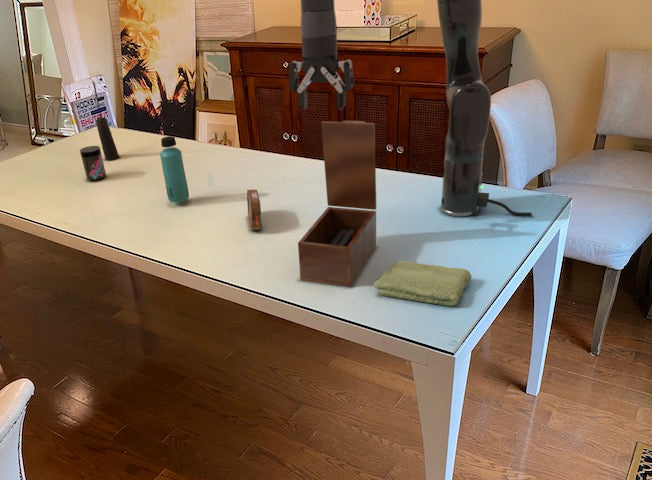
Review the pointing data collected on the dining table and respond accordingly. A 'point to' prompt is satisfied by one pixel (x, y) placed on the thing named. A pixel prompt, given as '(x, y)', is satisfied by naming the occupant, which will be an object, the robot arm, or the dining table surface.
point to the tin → (254, 209)
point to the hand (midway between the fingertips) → (322, 109)
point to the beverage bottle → (173, 171)
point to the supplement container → (93, 163)
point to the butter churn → (105, 136)
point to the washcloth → (424, 283)
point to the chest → (335, 260)
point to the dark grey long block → (343, 238)
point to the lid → (350, 164)
